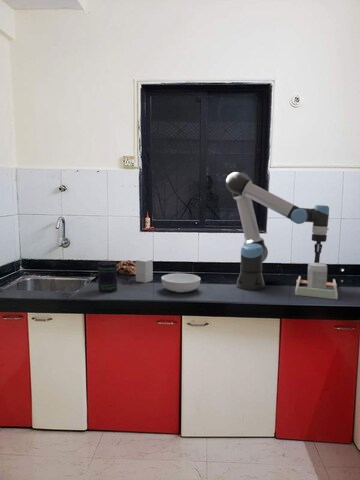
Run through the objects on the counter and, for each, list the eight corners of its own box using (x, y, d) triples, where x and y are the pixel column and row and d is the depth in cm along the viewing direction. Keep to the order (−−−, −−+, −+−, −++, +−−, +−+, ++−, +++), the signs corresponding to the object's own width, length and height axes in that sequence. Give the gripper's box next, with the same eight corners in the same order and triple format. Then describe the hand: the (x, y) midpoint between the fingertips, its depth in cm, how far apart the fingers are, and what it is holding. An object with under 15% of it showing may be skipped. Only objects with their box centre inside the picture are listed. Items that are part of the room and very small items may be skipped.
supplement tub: (329, 292, 186) (331, 264, 184) (319, 295, 181) (320, 267, 179) (313, 287, 194) (315, 261, 192) (302, 290, 189) (304, 263, 186)
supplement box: (153, 280, 208) (153, 259, 206) (145, 283, 202) (145, 261, 200) (143, 278, 212) (143, 258, 210) (135, 281, 206) (135, 260, 204)
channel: (294, 294, 181) (295, 287, 180) (298, 280, 212) (298, 273, 212) (337, 299, 173) (337, 291, 173) (334, 283, 205) (335, 276, 204)
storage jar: (110, 287, 193) (110, 260, 191) (121, 290, 186) (120, 262, 184) (94, 290, 186) (94, 262, 184) (104, 294, 179) (104, 265, 177)
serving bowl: (175, 298, 173) (175, 284, 172) (154, 288, 191) (154, 276, 190) (208, 292, 185) (208, 279, 184) (185, 283, 202) (186, 271, 201)
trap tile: (296, 282, 206) (296, 282, 206) (296, 280, 212) (296, 279, 212) (337, 286, 198) (337, 286, 198) (336, 283, 204) (336, 283, 204)
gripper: (327, 235, 184) (322, 279, 187) (326, 233, 196) (322, 274, 199) (311, 234, 186) (307, 277, 190) (312, 232, 198) (308, 272, 202)
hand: (315, 276), depth 194 cm, fingers closed
